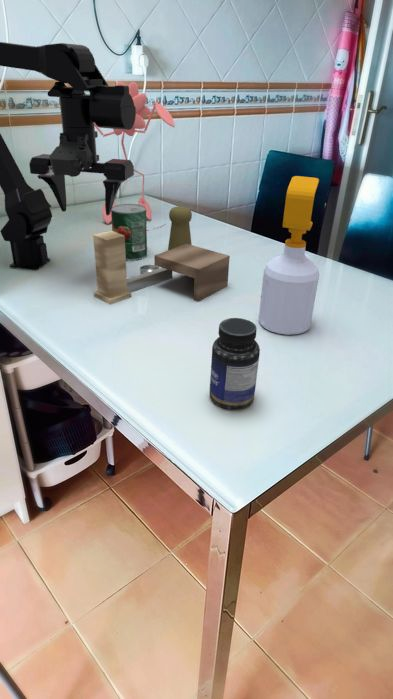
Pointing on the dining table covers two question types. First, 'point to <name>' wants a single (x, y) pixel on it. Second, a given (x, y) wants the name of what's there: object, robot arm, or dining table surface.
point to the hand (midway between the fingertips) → (85, 213)
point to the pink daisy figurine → (139, 124)
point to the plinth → (197, 267)
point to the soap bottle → (291, 267)
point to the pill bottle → (234, 364)
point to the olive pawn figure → (179, 227)
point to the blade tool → (119, 269)
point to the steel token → (147, 268)
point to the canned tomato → (131, 228)
